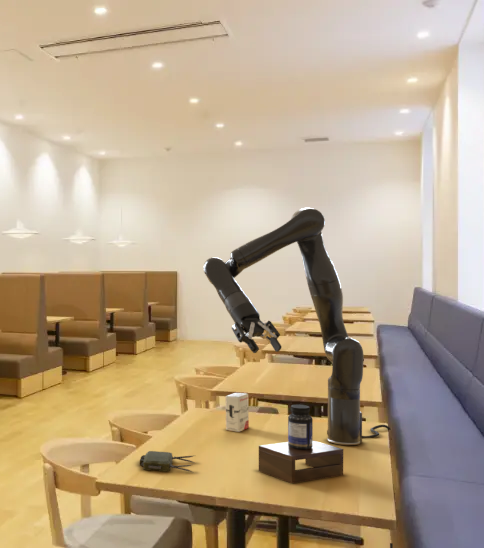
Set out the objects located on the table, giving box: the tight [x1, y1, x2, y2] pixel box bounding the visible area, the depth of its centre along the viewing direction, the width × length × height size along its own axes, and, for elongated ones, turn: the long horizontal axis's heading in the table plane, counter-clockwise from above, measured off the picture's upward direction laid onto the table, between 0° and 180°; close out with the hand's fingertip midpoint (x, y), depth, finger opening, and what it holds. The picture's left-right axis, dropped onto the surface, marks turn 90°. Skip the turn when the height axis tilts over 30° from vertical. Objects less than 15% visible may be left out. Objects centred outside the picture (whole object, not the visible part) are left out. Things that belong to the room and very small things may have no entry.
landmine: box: [139, 450, 196, 473], centre depth 203 cm, size 14×3×15 cm
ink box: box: [225, 392, 250, 433], centre depth 247 cm, size 8×5×12 cm, turn 140°
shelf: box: [258, 440, 344, 484], centre depth 195 cm, size 18×12×7 cm, turn 113°
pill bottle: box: [287, 404, 314, 450], centre depth 195 cm, size 6×6×11 cm
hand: (268, 350), depth 214 cm, fingers open, 8 cm apart
